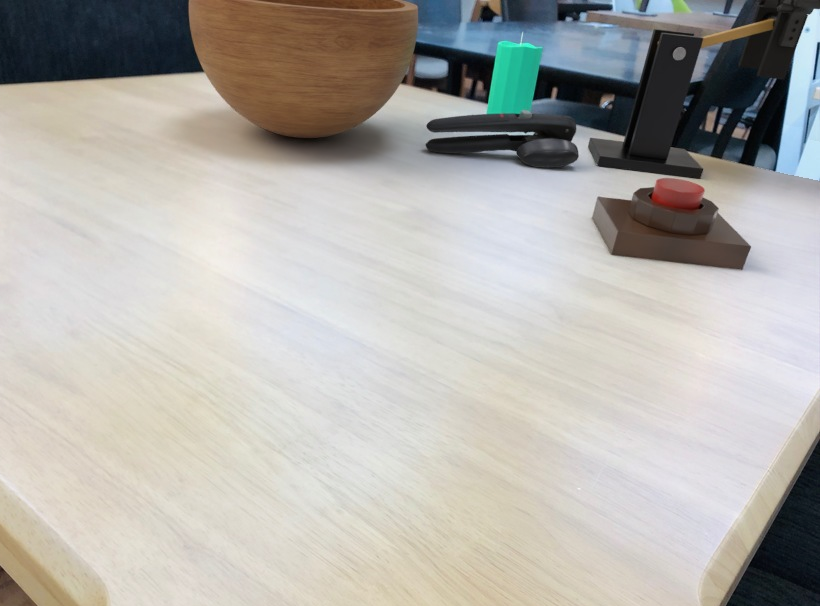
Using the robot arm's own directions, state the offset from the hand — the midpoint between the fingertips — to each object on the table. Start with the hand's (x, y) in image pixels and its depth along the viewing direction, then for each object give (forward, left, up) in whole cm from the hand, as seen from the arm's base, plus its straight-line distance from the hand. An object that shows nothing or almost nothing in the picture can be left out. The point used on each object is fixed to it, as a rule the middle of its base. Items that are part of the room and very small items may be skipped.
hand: (760, 72), depth 81 cm
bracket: (+6, +8, -12) cm, 16 cm away
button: (-14, +28, -8) cm, 32 cm away
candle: (+25, +14, -12) cm, 31 cm away
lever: (+3, +4, +2) cm, 5 cm away
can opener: (+12, +26, -12) cm, 31 cm away
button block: (-14, +28, -12) cm, 33 cm away
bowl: (+26, +45, -12) cm, 53 cm away
